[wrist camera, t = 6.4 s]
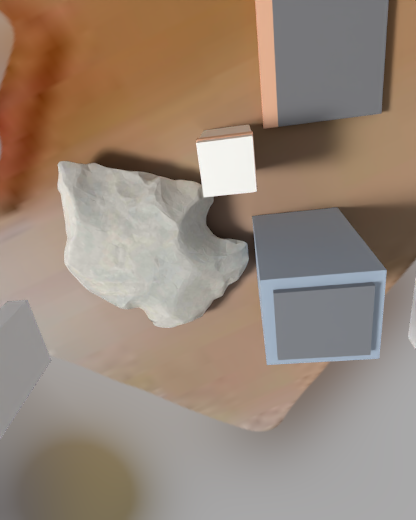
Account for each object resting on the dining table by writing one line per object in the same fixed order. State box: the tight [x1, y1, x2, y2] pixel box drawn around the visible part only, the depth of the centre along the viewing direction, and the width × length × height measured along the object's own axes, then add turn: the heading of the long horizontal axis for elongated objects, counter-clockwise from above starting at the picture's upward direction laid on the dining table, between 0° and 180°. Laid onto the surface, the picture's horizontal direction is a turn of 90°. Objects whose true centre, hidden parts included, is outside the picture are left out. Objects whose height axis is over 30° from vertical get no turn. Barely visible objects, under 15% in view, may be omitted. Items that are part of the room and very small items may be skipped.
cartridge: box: [196, 125, 257, 197], centre depth 38 cm, size 5×5×9 cm
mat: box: [255, 0, 389, 129], centre depth 37 cm, size 12×12×1 cm
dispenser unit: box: [252, 207, 387, 365], centre depth 39 cm, size 10×10×17 cm
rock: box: [58, 161, 249, 328], centre depth 44 cm, size 19×7×25 cm
